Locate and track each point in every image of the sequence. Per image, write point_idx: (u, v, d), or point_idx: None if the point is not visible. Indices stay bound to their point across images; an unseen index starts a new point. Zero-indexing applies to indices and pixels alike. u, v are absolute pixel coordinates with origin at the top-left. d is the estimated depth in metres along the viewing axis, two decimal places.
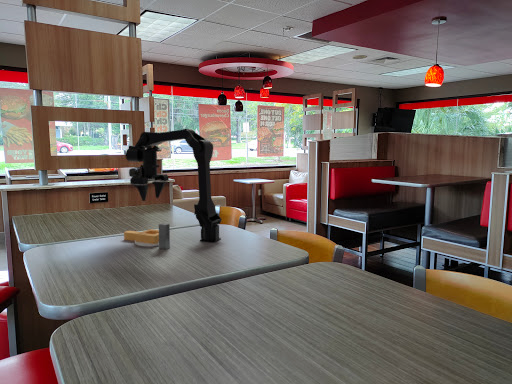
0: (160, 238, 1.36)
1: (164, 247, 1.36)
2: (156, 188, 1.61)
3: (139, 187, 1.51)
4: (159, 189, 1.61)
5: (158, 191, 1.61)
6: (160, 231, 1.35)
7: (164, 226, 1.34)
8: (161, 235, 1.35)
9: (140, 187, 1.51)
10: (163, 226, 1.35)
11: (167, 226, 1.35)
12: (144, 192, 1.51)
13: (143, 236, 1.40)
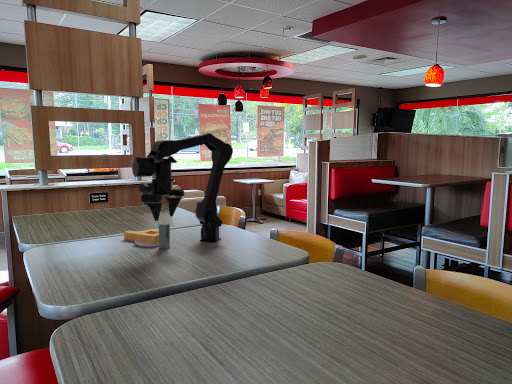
0: (160, 238, 1.36)
1: (164, 247, 1.36)
2: (170, 205, 1.40)
3: (151, 205, 1.30)
4: (173, 206, 1.39)
5: (172, 208, 1.39)
6: (160, 231, 1.35)
7: (164, 226, 1.34)
8: (161, 235, 1.35)
9: (152, 205, 1.30)
10: (163, 226, 1.35)
11: (167, 226, 1.35)
12: (157, 211, 1.29)
13: (143, 236, 1.40)
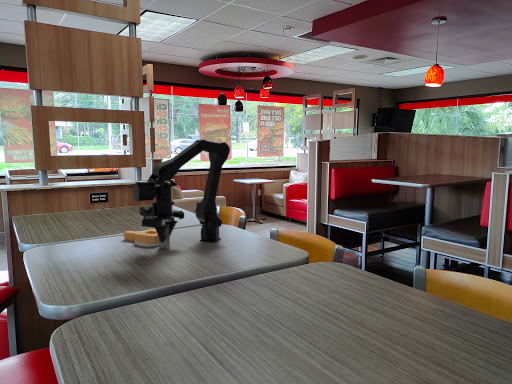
0: None
1: (164, 247, 1.36)
2: None
3: (157, 227, 1.34)
4: None
5: None
6: None
7: None
8: None
9: (158, 227, 1.34)
10: None
11: None
12: (163, 233, 1.33)
13: (143, 236, 1.40)
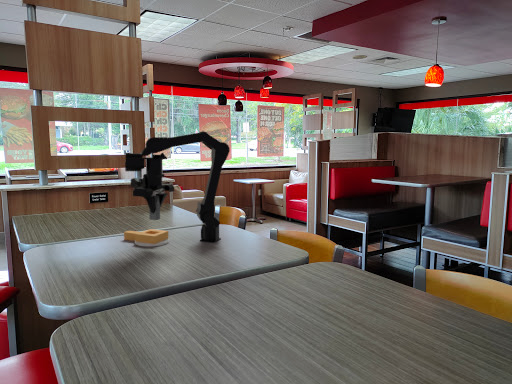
0: None
1: (154, 218, 1.39)
2: None
3: (148, 198, 1.37)
4: None
5: None
6: None
7: None
8: None
9: (149, 198, 1.38)
10: None
11: None
12: (153, 204, 1.37)
13: (143, 236, 1.40)
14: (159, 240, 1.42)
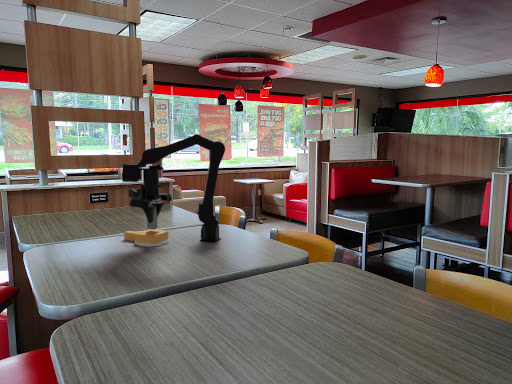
0: None
1: (152, 227, 1.43)
2: None
3: (145, 208, 1.41)
4: None
5: None
6: None
7: None
8: None
9: (146, 208, 1.41)
10: None
11: None
12: (150, 214, 1.40)
13: (143, 236, 1.40)
14: (159, 240, 1.42)
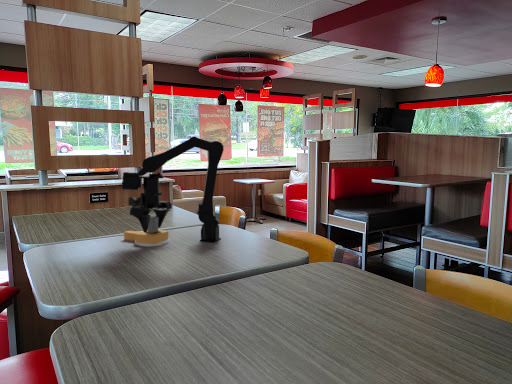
0: (149, 230, 1.44)
1: None
2: None
3: (140, 218, 1.38)
4: (161, 218, 1.47)
5: (160, 220, 1.48)
6: (149, 223, 1.43)
7: (153, 218, 1.43)
8: (150, 227, 1.43)
9: (141, 218, 1.39)
10: (152, 218, 1.43)
11: (156, 219, 1.43)
12: (146, 223, 1.38)
13: (143, 236, 1.40)
14: (159, 240, 1.42)
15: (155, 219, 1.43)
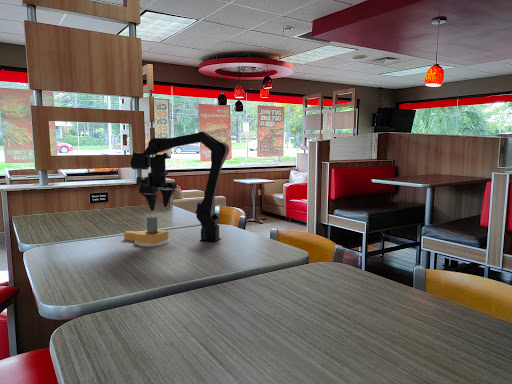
0: (148, 230, 1.43)
1: None
2: (164, 196, 1.54)
3: (148, 196, 1.44)
4: (167, 198, 1.54)
5: (166, 200, 1.54)
6: (148, 224, 1.43)
7: (152, 219, 1.42)
8: (149, 228, 1.43)
9: (149, 196, 1.44)
10: (151, 219, 1.42)
11: (155, 219, 1.43)
12: (153, 201, 1.44)
13: (143, 236, 1.40)
14: (159, 240, 1.42)
15: (154, 219, 1.43)
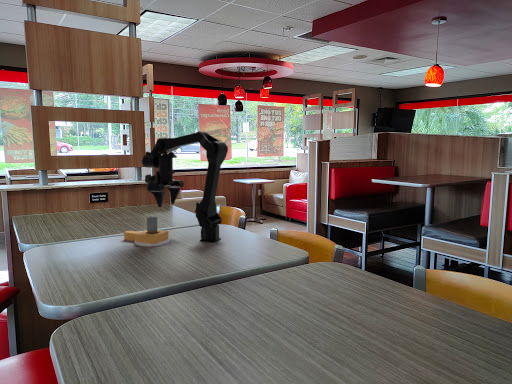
0: (148, 230, 1.43)
1: None
2: (171, 194, 1.61)
3: (155, 193, 1.51)
4: (174, 195, 1.61)
5: (173, 197, 1.61)
6: (148, 224, 1.43)
7: (152, 219, 1.42)
8: (149, 228, 1.43)
9: (156, 193, 1.51)
10: (151, 219, 1.42)
11: (155, 219, 1.43)
12: (160, 198, 1.51)
13: (143, 236, 1.40)
14: (159, 240, 1.42)
15: (154, 219, 1.43)
